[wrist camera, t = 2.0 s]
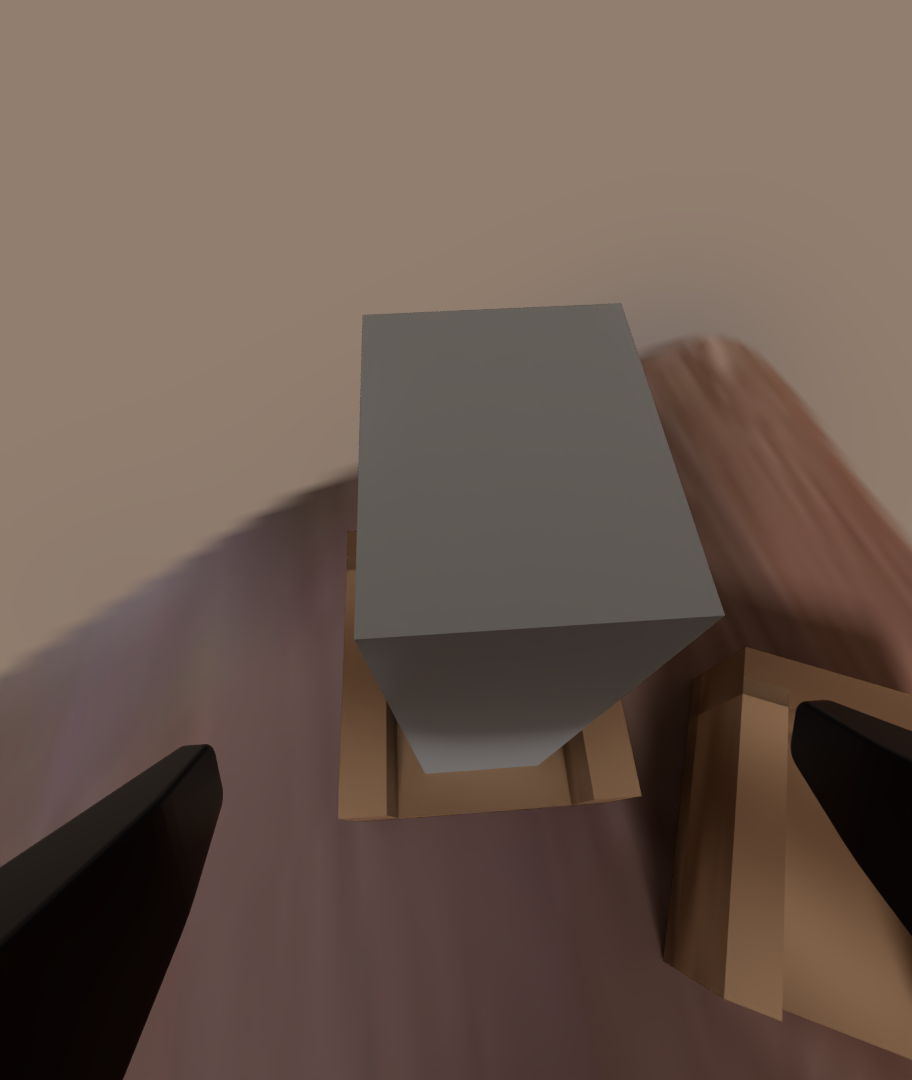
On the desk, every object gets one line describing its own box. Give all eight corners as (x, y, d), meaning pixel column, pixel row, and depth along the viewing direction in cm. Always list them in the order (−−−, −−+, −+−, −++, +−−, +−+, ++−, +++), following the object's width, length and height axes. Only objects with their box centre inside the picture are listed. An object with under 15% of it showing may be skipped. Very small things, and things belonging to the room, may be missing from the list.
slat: (537, 765, 16) (725, 615, 5) (425, 773, 16) (353, 639, 5) (519, 627, 19) (621, 303, 7) (420, 633, 18) (362, 314, 7)
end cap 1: (604, 802, 17) (641, 795, 13) (361, 821, 16) (338, 819, 13) (561, 568, 21) (582, 517, 17) (365, 580, 20) (348, 531, 17)
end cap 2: (962, 1076, 14) (1126, 1156, 10) (663, 961, 15) (723, 998, 11) (928, 751, 17) (1041, 732, 14) (693, 679, 18) (745, 646, 15)
